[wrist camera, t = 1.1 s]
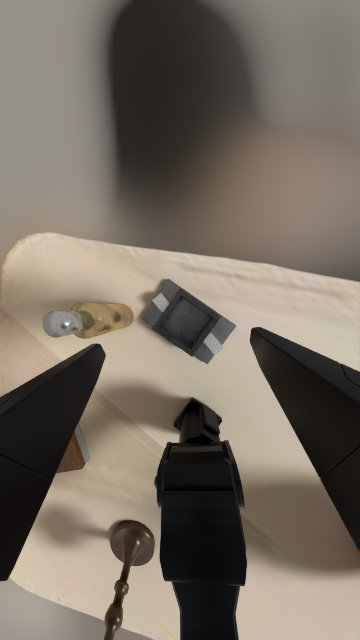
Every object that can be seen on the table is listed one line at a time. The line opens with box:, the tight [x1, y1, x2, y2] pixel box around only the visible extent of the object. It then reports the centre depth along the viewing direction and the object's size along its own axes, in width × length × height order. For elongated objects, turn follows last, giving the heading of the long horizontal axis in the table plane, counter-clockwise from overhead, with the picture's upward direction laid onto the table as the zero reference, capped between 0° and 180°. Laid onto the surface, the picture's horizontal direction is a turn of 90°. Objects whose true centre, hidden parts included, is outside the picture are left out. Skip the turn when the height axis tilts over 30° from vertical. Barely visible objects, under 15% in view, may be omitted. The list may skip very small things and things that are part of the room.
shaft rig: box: [142, 279, 236, 364], centre depth 23 cm, size 8×14×4 cm, turn 55°
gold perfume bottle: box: [42, 303, 134, 339], centre depth 19 cm, size 4×4×12 cm
